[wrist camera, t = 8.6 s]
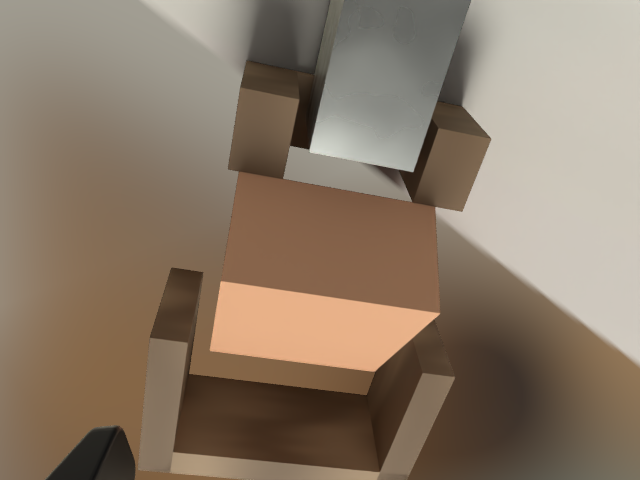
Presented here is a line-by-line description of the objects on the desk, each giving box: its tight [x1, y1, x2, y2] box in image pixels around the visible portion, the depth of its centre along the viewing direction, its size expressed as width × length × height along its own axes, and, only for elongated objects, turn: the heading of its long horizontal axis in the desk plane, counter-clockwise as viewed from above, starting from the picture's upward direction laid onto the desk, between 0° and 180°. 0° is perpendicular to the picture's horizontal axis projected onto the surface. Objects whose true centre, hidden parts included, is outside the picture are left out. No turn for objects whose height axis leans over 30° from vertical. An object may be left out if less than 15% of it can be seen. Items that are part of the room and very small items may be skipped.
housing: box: [138, 268, 455, 480], centre depth 22 cm, size 10×7×4 cm, turn 78°
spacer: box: [210, 171, 440, 372], centre depth 18 cm, size 6×6×4 cm
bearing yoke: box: [228, 61, 491, 212], centre depth 17 cm, size 7×2×3 cm, turn 78°
